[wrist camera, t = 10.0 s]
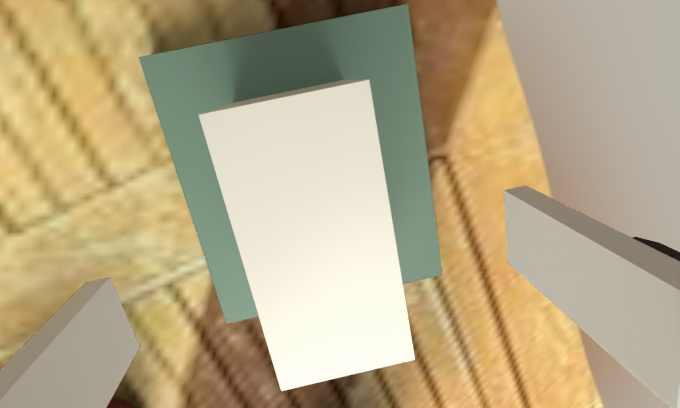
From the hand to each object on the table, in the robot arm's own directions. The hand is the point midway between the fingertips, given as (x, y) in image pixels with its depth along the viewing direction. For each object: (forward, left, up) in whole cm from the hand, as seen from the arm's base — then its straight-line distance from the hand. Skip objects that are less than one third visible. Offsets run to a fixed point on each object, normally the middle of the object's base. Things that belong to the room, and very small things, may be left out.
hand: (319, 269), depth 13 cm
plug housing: (0, 0, -10) cm, 10 cm away
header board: (-1, 0, -12) cm, 12 cm away
